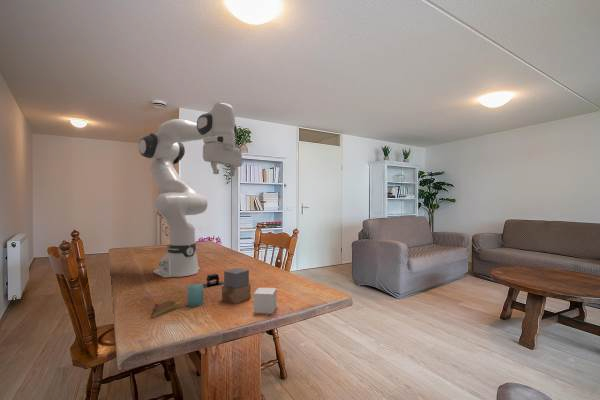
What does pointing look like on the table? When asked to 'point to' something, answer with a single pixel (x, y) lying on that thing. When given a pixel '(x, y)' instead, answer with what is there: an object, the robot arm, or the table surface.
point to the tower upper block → (236, 278)
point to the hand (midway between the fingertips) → (224, 175)
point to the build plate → (210, 284)
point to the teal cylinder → (195, 295)
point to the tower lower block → (236, 293)
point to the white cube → (265, 300)
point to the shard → (165, 307)
